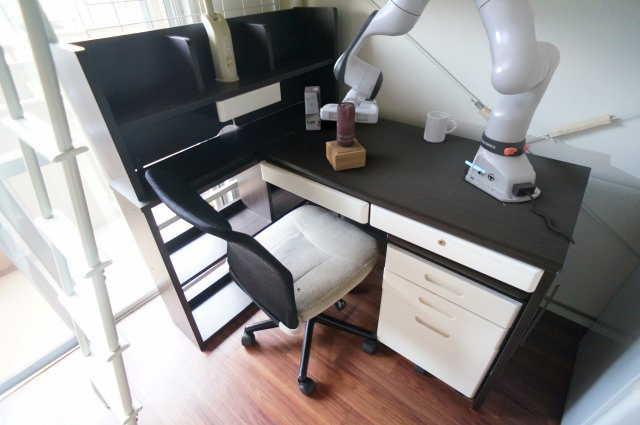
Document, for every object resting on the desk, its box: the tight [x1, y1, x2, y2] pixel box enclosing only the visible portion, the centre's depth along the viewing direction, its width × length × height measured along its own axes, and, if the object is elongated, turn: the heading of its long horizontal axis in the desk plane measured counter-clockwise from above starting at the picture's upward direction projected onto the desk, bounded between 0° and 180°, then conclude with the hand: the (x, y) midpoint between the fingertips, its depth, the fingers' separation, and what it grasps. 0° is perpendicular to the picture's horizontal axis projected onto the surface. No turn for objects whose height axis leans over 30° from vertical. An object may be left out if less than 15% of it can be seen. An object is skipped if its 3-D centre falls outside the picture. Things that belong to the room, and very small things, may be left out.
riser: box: [325, 137, 367, 172], centre depth 117 cm, size 11×11×6 cm
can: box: [336, 101, 356, 147], centre depth 111 cm, size 6×6×14 cm
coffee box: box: [304, 85, 322, 131], centre depth 141 cm, size 9×6×16 cm
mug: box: [423, 110, 459, 143], centre depth 128 cm, size 8×12×10 cm
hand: (345, 122), depth 109 cm, fingers closed
